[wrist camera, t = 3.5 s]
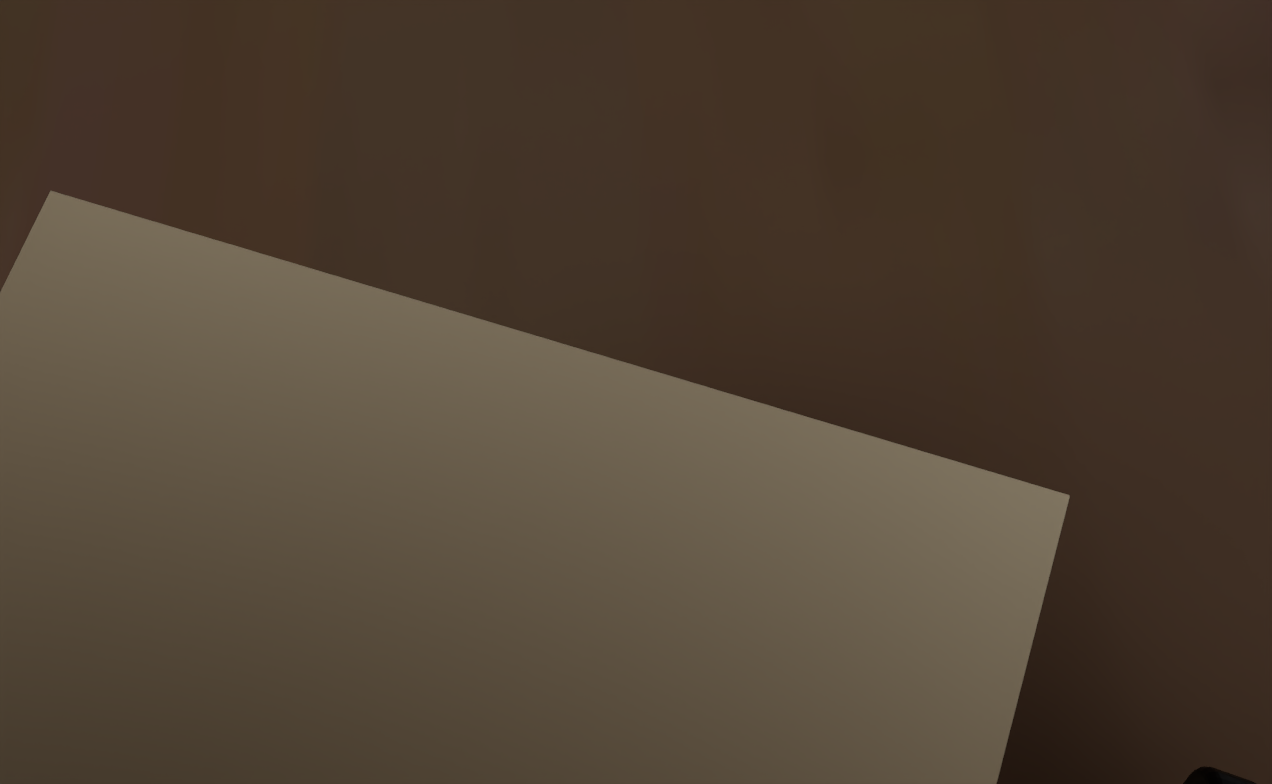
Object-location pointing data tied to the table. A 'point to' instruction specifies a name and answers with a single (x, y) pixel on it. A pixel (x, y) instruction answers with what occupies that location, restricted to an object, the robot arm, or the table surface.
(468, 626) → the tan square peg
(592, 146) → the table surface
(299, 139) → the table surface
